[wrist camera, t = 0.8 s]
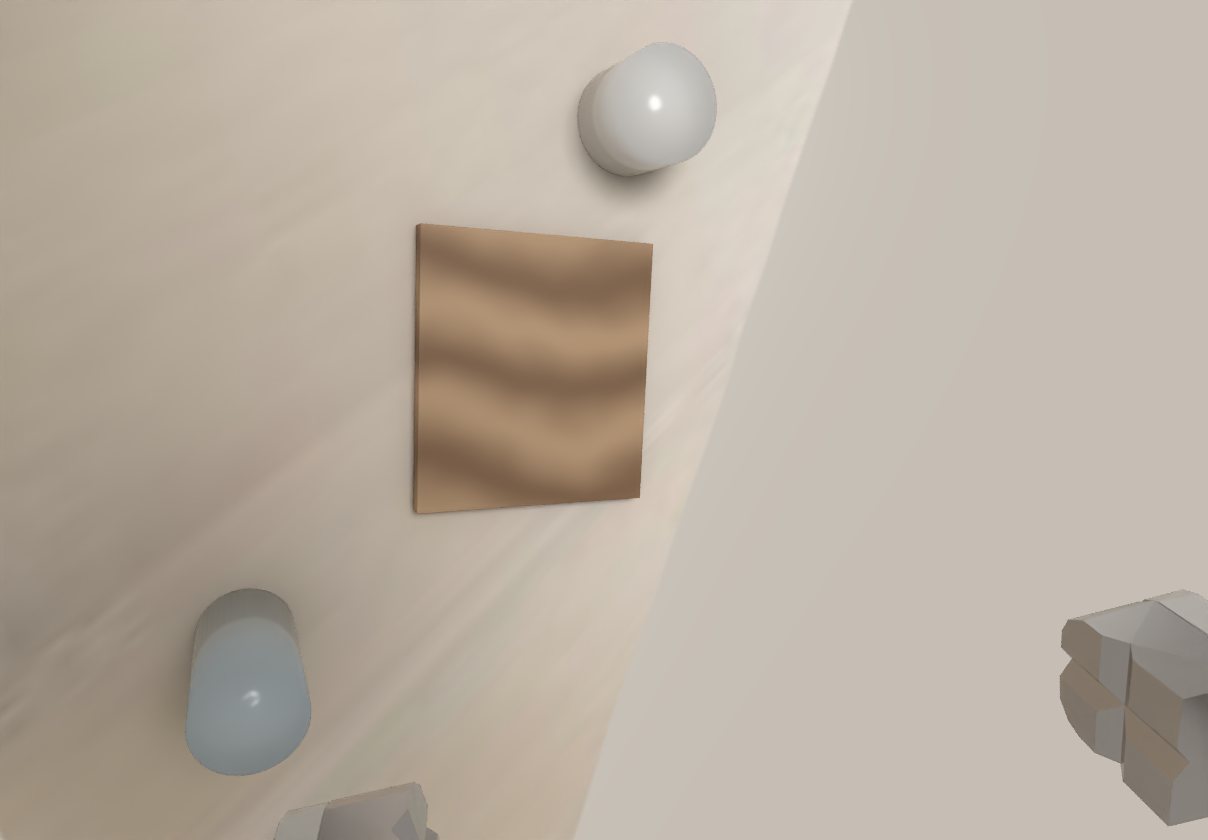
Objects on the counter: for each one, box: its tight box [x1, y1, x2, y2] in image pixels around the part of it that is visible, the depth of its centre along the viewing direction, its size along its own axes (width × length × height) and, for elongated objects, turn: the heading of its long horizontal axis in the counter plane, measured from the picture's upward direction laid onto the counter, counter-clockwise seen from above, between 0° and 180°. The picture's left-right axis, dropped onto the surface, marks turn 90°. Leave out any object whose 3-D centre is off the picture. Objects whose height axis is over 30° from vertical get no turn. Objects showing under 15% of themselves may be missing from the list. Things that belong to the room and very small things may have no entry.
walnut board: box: [413, 223, 653, 514], centre depth 52 cm, size 18×16×1 cm
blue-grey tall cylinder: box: [185, 589, 311, 776], centre depth 42 cm, size 6×6×11 cm
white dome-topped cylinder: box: [577, 42, 717, 176], centre depth 50 cm, size 7×7×6 cm
